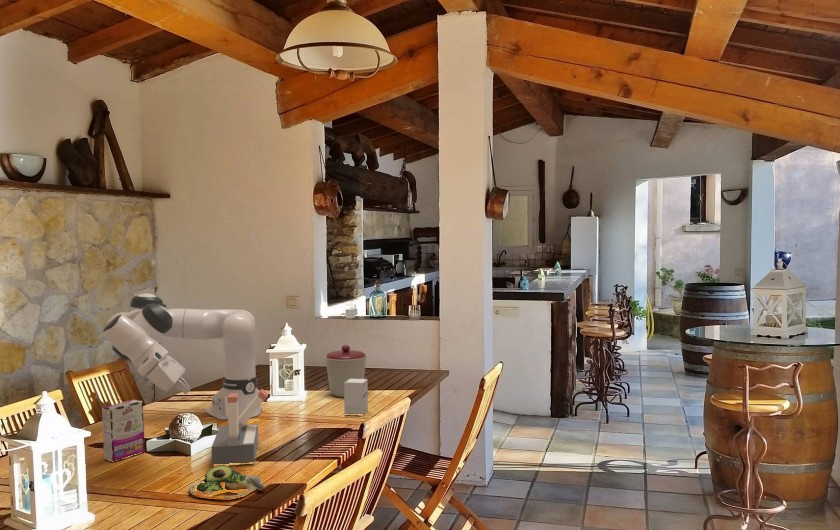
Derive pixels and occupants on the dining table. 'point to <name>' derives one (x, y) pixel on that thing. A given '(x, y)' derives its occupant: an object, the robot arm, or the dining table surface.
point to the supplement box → (355, 396)
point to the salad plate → (227, 481)
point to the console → (235, 445)
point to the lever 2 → (252, 407)
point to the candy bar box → (123, 429)
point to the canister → (344, 368)
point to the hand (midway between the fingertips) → (188, 391)
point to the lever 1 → (233, 414)
